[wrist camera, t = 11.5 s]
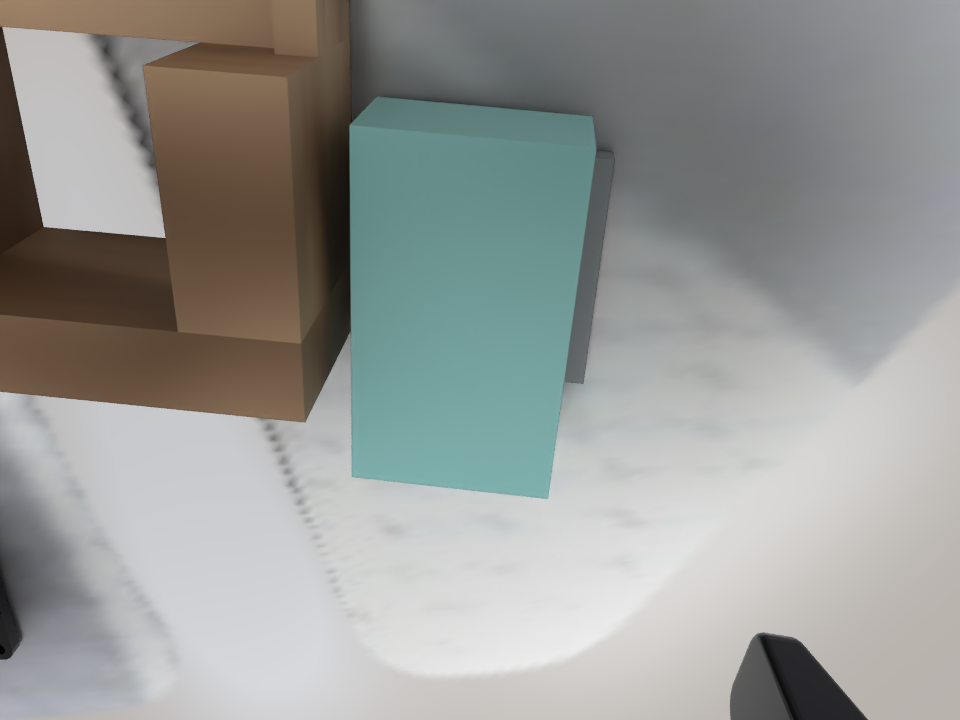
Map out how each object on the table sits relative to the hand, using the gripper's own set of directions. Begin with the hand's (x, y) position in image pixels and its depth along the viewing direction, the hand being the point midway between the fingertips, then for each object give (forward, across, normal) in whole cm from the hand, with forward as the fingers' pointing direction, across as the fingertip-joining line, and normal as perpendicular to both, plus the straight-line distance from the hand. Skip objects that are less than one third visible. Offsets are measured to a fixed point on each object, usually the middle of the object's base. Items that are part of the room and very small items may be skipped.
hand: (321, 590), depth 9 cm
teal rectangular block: (+11, -1, +1) cm, 11 cm away
